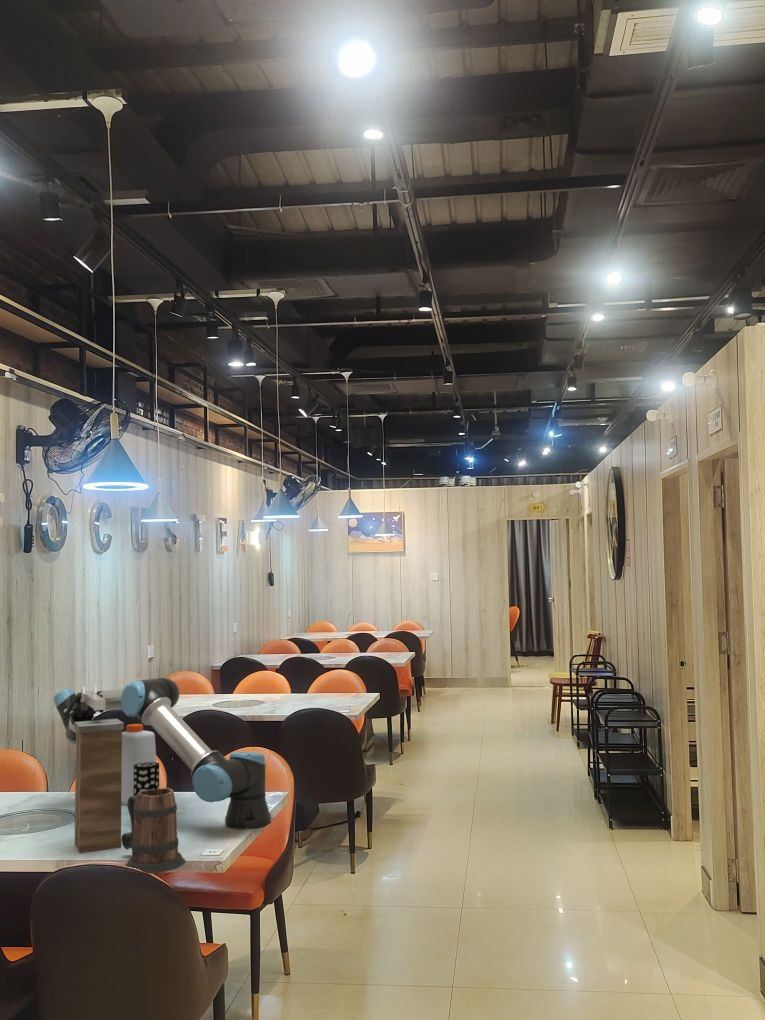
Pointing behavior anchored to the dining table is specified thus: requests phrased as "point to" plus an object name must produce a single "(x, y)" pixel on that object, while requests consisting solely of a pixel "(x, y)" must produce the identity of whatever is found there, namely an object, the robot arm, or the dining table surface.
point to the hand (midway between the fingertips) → (89, 689)
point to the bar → (94, 700)
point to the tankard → (153, 832)
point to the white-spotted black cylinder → (146, 776)
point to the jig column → (98, 784)
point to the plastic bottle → (135, 756)
